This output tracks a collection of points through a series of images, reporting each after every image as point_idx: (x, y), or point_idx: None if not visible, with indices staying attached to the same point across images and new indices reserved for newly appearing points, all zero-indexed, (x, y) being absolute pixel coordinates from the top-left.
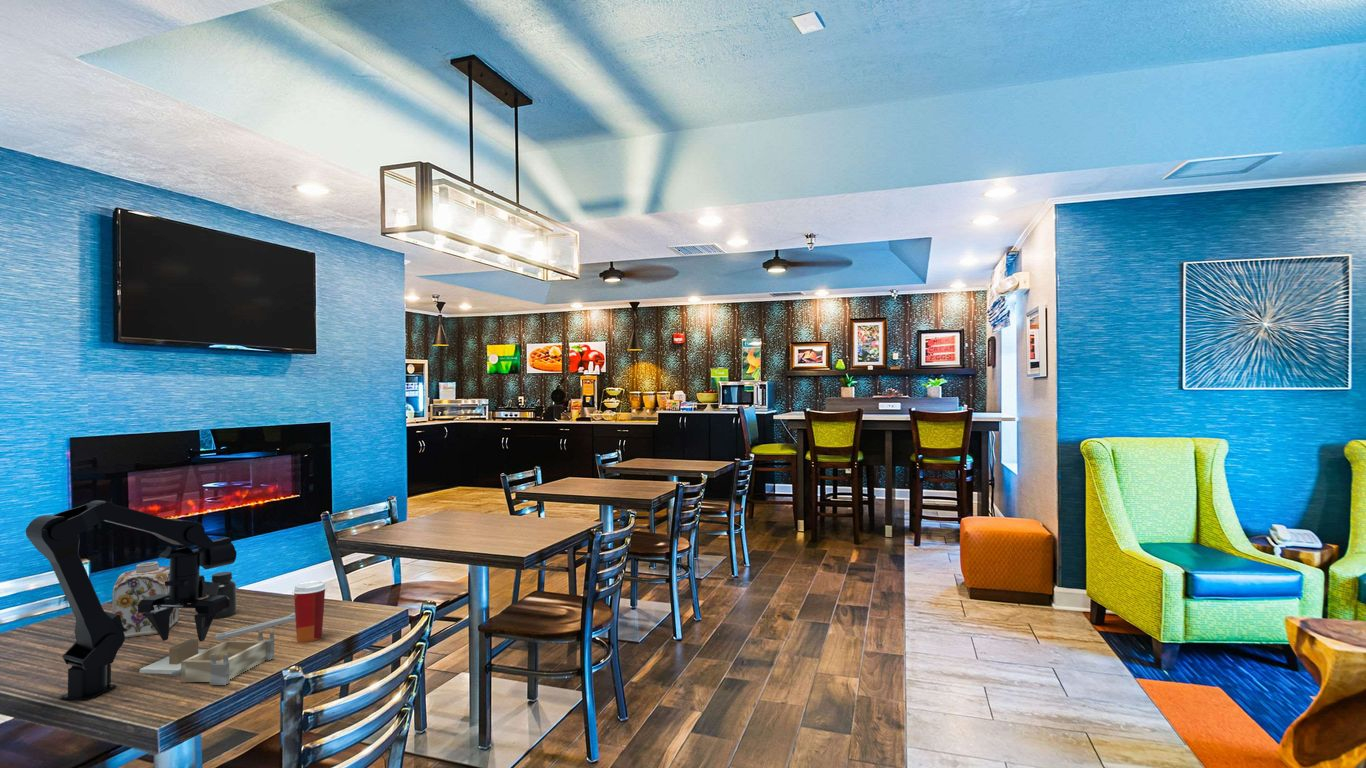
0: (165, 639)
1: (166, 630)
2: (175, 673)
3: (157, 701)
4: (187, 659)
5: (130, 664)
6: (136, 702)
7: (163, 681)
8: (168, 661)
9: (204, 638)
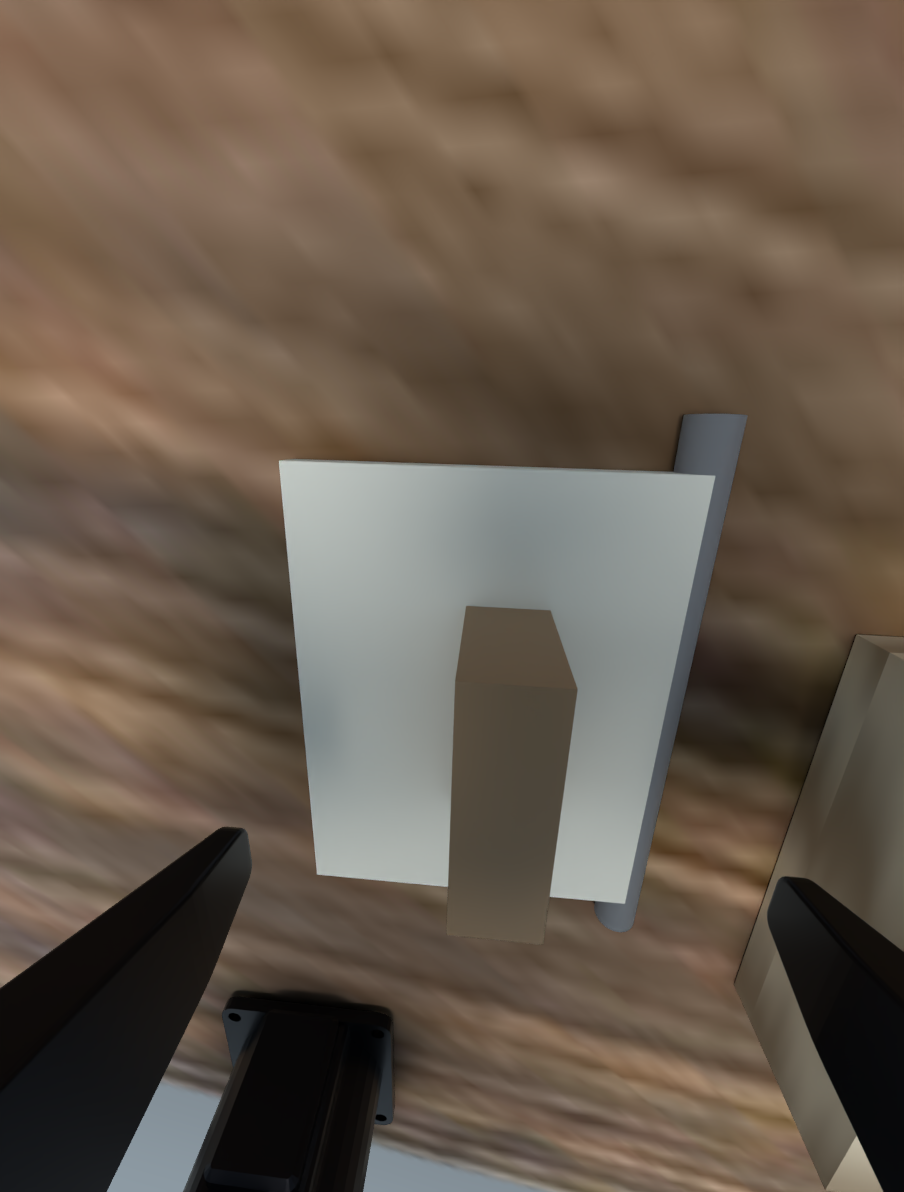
0: (244, 864)
1: (157, 979)
2: (629, 923)
3: (755, 1140)
4: (859, 1167)
5: (105, 718)
6: (651, 1137)
7: (603, 963)
8: (403, 756)
9: (831, 908)
